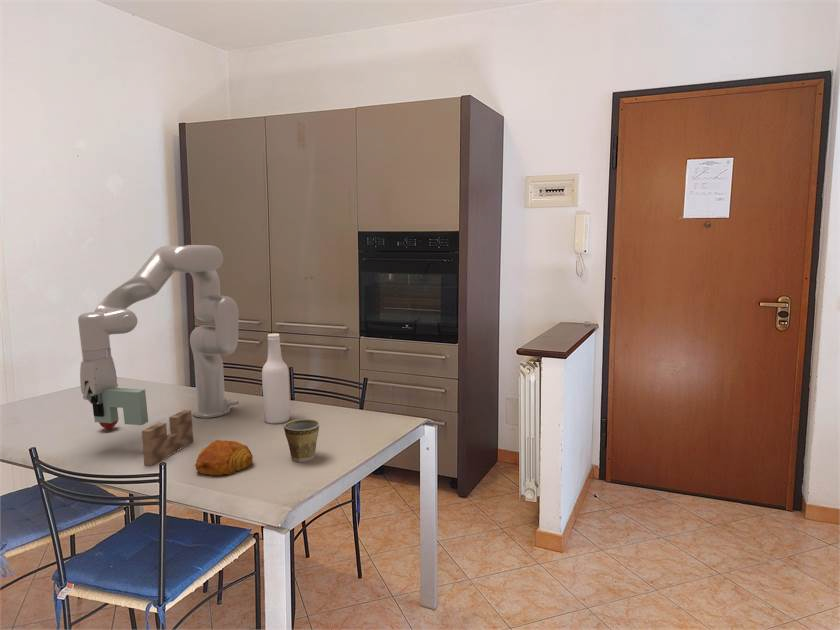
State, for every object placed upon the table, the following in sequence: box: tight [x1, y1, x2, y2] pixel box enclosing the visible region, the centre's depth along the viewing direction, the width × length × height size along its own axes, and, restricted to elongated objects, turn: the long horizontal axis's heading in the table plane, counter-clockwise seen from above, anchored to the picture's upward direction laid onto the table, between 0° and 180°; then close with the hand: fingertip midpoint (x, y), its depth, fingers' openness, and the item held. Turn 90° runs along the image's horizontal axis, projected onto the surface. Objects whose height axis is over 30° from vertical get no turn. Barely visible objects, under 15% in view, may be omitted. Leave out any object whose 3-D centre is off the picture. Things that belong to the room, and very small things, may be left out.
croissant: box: [194, 439, 254, 476], centre depth 172 cm, size 14×16×8 cm
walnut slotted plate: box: [141, 409, 194, 467], centre depth 182 cm, size 20×2×10 cm, turn 167°
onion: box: [98, 420, 119, 431], centre depth 203 cm, size 6×6×8 cm
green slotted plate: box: [93, 387, 149, 426], centre depth 183 cm, size 16×3×10 cm, turn 77°
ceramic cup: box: [283, 418, 320, 463], centre depth 179 cm, size 13×10×10 cm
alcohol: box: [261, 333, 291, 425], centre depth 210 cm, size 9×9×30 cm
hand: (103, 413), depth 185 cm, fingers closed on green slotted plate, 3 cm apart
